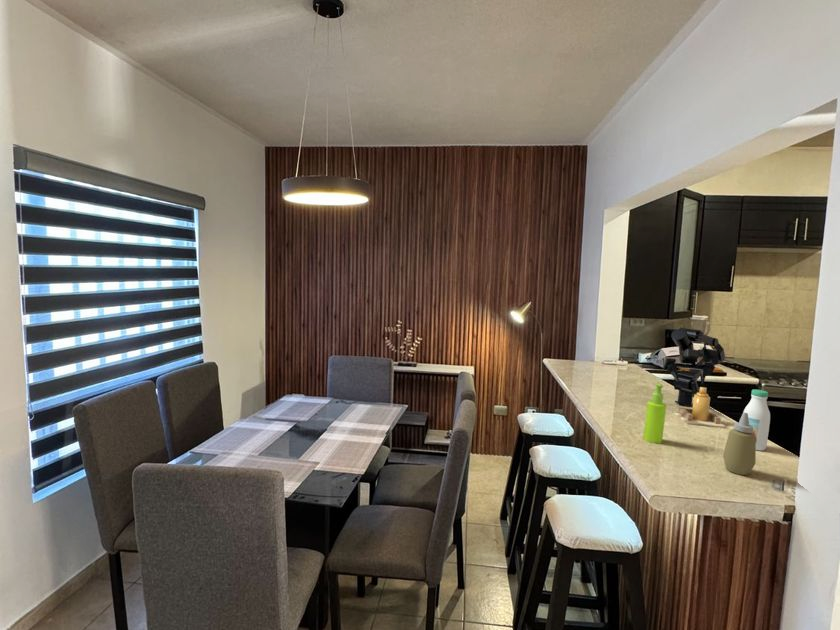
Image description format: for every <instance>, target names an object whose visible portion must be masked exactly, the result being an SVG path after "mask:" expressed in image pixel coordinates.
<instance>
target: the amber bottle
mask: <svg viewBox="0 0 840 630" xmlns="http://www.w3.org/2000/svg"><path fill="white" fill-rule="evenodd" d="M707 389H708V388H707V387H705V386H700V387H699V392H697V394H693V400H692V404H693V407H692V408H691V409H692V415H693V419H695V420H699V421H707V420H708V412H709V411H710V404H711V403H710V402H711V397H710V396H709V394H708V393H707Z"/></svg>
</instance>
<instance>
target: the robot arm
mask: <svg viewBox="0 0 840 630" xmlns="http://www.w3.org/2000/svg"><path fill="white" fill-rule="evenodd" d="M670 337H671V338H672V341H673V342H674V344H675V345H676V346H677V347H678V353H679V357H678V358H679V361H677V359H676V358H673V357H666V358H664V361H663V364H662V369H663V370H664V371H666V372H669V373H670V375H671V376H672V377H673V378H674V379H673V389H674V390H677V391H678V395H677V400H674V403H676V404H677V405H678V404H679V405H678V406H681V405H682V406H683V407H684V406H685V407H692V408H693V400H694V394H697V392H699V390H700V387H699V383H698V379H699V378H700V384H701V385H702V386H703V385H704V383H705V380H706V377H707V376H710V375H712V374H713V372H714V371H715V369H716V365H719V364H721V363H722V362H724V361H725V360H726V359H725V358H726V355H725V349H724V348H723V346H722V345H721V344H720V343H719V339H718V338H716V337H712V336H709V335H707V334H705V333H704V331H703V330H701V329H695V328H690V327H689V328H688V327H679V328H678V329H675V330H673V331H672V333H671V335H670ZM694 343H698V344H699V343H700V344H703V347H702V348H701V349H694ZM707 346H710V347H713V348H714V349H712V348H707ZM699 358H700V360H699V361H698V359H699ZM678 368H682V369H681V370H680V371H679V372H678ZM683 368H684V369H683ZM685 369H689V370H685Z"/></svg>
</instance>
